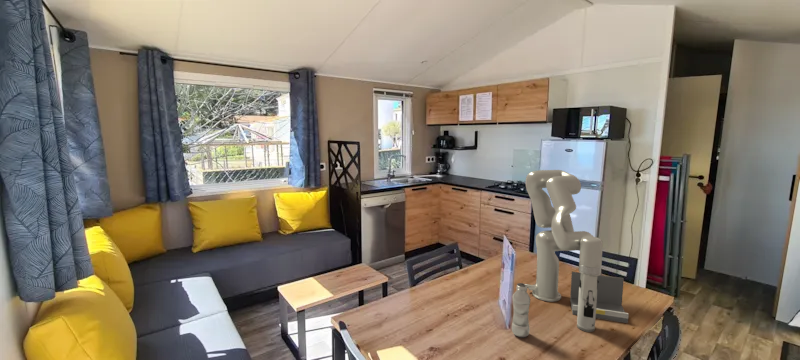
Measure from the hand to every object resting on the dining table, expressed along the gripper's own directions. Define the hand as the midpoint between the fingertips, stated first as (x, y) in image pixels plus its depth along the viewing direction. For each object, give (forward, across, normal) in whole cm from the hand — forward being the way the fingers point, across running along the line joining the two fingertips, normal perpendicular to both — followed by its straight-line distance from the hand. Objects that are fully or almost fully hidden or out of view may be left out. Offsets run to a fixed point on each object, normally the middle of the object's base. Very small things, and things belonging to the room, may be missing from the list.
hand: (587, 312), depth 136 cm
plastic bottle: (+7, +14, -24) cm, 29 cm away
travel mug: (+7, 0, 0) cm, 7 cm away
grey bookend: (+7, -16, +6) cm, 18 cm away
